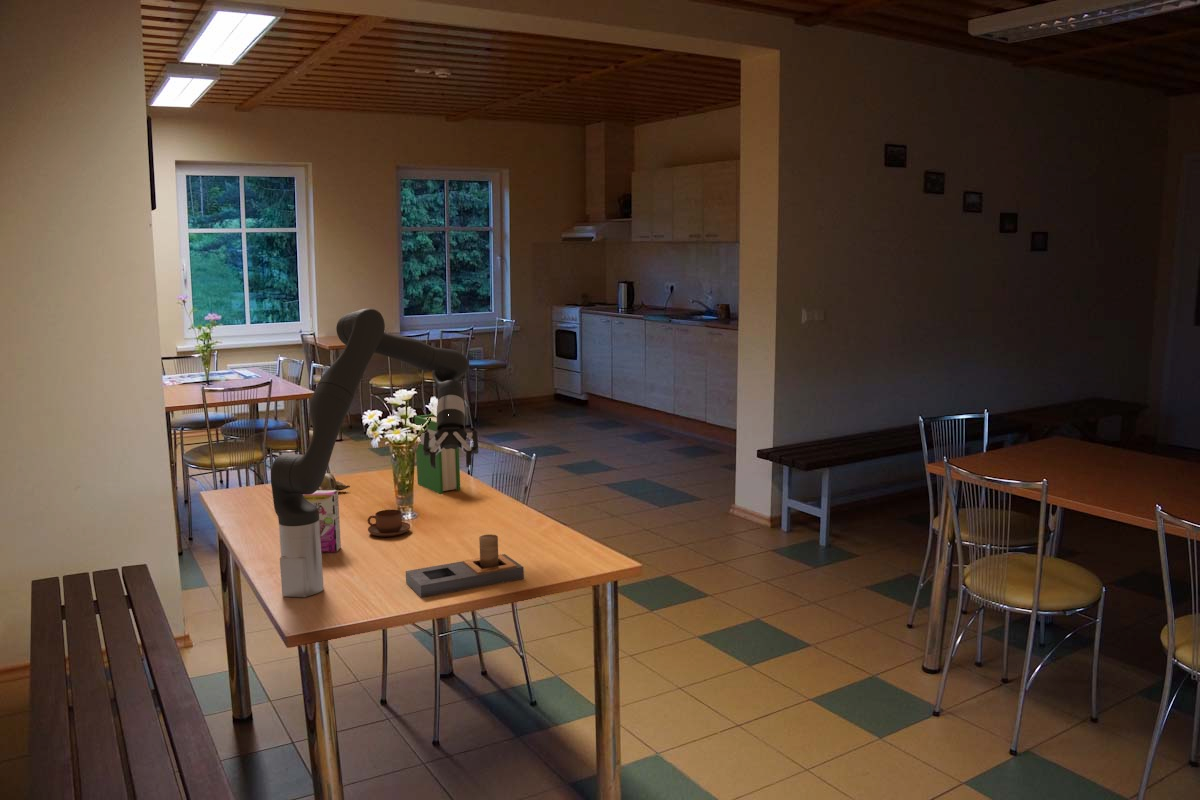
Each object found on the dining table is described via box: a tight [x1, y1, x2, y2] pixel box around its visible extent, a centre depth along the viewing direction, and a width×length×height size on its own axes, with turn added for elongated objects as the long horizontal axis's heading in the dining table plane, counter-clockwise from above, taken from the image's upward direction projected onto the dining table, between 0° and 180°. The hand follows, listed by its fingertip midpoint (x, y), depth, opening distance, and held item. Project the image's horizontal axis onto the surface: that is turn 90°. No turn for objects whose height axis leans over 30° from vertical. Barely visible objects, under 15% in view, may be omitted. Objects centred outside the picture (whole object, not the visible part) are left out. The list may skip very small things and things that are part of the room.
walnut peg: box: [478, 534, 499, 569], centre depth 239 cm, size 4×4×10 cm
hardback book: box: [414, 413, 461, 495], centre depth 330 cm, size 18×7×24 cm, turn 36°
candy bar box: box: [303, 490, 342, 554], centre depth 262 cm, size 11×5×16 cm, turn 92°
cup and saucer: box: [367, 509, 411, 537], centre depth 278 cm, size 12×12×6 cm
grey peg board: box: [405, 553, 525, 599], centre depth 236 cm, size 26×12×3 cm, turn 118°
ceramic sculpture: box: [318, 472, 351, 491], centre depth 326 cm, size 11×9×15 cm
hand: (451, 466), depth 251 cm, fingers open, 8 cm apart
